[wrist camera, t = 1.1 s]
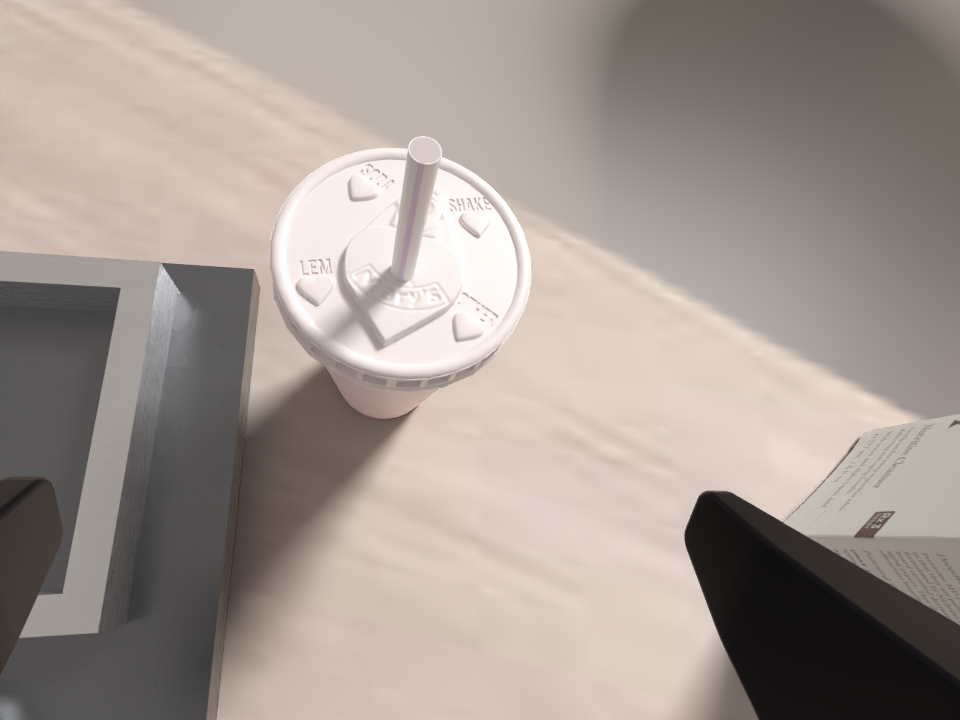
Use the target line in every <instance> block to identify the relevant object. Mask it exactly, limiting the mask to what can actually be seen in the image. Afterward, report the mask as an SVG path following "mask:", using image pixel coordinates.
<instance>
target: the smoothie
mask: <svg viewBox="0 0 960 720" xmlns="http://www.w3.org/2000/svg"><path fill="white" fill-rule="evenodd" d="M441 155H442V150H441V147H440V145H439V144H438V143H437V142H436V141H435V140H434V139H432V138H429V137H425V136H422V137H421V136H420V137H416V138H414V139H413V140H412V141H411V142H410V143H409V146H408V149H402V148H378V149H369V150H363V151H359V152H354V153H351V154H348V155H345V156H342V157H339V158H337V159H335V160H332V161H330V162H328V163H326V164H325V165H323V166H321V167H319V168H318V169H316V170H315V171H313V172H312V173H311V174H309V175H308V176H307V177H306V178H305V179H303V180H302V181H301V182H300V183H299V184H298V185H297V186H296V188H295V189H294V190H293V191H292V192H291V194H290V195H289V196H288V198H287V199H286V200H285V202H284V204H283V206H282V207H281V209H280V211H279V213H278V216H277V218H276V220H275V224H274V227H273V230H272V235H271V240H270V252H269V257H270V269H271V275H272V282H273V291H274V298H275V301H276V303H277V305H278V308H279V310H280V312H281V315H282V317H283V319H284V321H285V324H286V326H287V328H288V330H289V331H290V332H291V333H292V334H293V336H294V337H295V338H296V339H297V340H298V342H299V343H300V344H301V345H302V346H303V348H304V349H305V350H306V351H307V353H308V354H309V355H310V356H312V357H313V358H314V359H316V360H317V361H319V362H320V363H322V364H323V365H324V366H325V367H326V368H327V370H328V372H329V373H330V375H331V377H332V379H333V380H334V382H335V384H336V385H337V387H338V389H339V390H340V392H341V394H342V395H343V397H344V399H345V400H346V401H347V402H348V404H349V405H350V406H351V407H353V408H354V409H355V410H356V411H358V412H360V413H362V414H364V415H366V416H369V417H372V418H377V419H390V418H396V417H399V416H402V415H404V414H406V413H408V412H410V411H411V410H413V409H414V408H415V407H416V406H418V405H419V404H420V403H421V402H423V401H424V400H425V399H426V398H427V397H429V396H430V395H431V394H432V393H434V392H435V391H436V390H437V389H438V388H443V387H445V386H448V385H450V384H452V383H455V382H457V381H459V380H462V379H464V378H466V377H469V376H471V375H473V374H474V373H476V372H477V371H478V370H479V369H481V368H482V367H483V366H484V365H486V364H487V363H488V362H489V361H491V360H492V359H493V358H494V357H496V356H497V355H498V354H499V352H500V351H501V349H502V348H503V346H504V345H505V343H506V342H507V341H508V339H509V338H510V336H511V335H512V333H513V332H514V330H515V327H516V325H517V323H518V321H519V320H520V318H521V315H522V313H523V311H524V309H525V306H526V303H527V300H528V295H529V291H530V283H531V262H530V255H529V250H528V245H527V242H526V239H525V236H524V234H523V231H522V229H521V226H520V224H519V223H518V221H517V219H516V217H515V215H514V214H513V212H512V211H511V209H510V208H509V206H508V205H507V204H506V202H505V201H504V200H503V199H502V198H501V196H500V195H499V194H498V193H497V192H496V191H495V190H494V189H493V188H492V187H491V186H489V185H488V184H487V183H486V182H485V181H484V180H482V179H481V178H480V177H478V176H477V175H476V174H474V173H472V172H471V171H469V170H468V169H466V168H464V167H462V166H461V165H459V164H457V163H455V162H452V161H450V160H448V159H446V158H443V157H441Z"/></svg>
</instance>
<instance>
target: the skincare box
mask: <svg viewBox="0 0 960 720" xmlns="http://www.w3.org/2000/svg"><path fill="white" fill-rule="evenodd" d="M783 523H785V524H786V525H788V526H790V527H792V528H793V529H795V530H797V531H799V532H800V533H802V534H804V535H805V536H807V537H809V538H811V539H812V540H814V541H816V542H818V543H819V544H821V545H823V546H824V547H826V548H828V549H830V550H831V551H833V552H835V553H837V554H838V555H840V556H842V557H843V558H845V559H847V560H849V561H850V562H852V563H854V564H855V565H857V566H859V567H861V568H862V569H864V570H866V571H868V572H869V573H871V574H873V575H874V576H876V577H878V578H880V579H881V580H883V581H885V582H887V583H888V584H890V585H892V586H893V587H895V588H897V589H899V590H900V591H902V592H904V593H906V594H907V595H909V596H911V597H912V598H914V599H916V600H918V601H919V602H921V603H923V604H925V605H926V606H928V607H930V608H931V609H933V610H935V611H937V612H938V613H940V614H942V615H944V616H945V617H947V618H949V619H950V620H952V621H954V622H956V623H957V624H959V625H960V414H957V415H952V416H946V417H941V418H935V419H930V420H924V421H919V422H914V423H908V424H902V425H898V426H892V427H886V428H881V429H875V430H872V431H869V432H866V433H864V434H863V435H862V437H861V438H860V440H859V441H858V443H857V444H856V445H855V447H854V448H853V450H852V451H851V452H850V453H849V454H848V456H847V457H846V458H845V459H844V460H843V461H842V462H841V464H840V465H839V466H838V467H837V468H836V469H835V470H834V472H833V473H832V474H831V475H830V476H829V477H828V478H827V479H826V480H825V481H824V482H823V484H822V485H821V486H820V487H819V488H818V489H817V490H816V491H815V492H814V493H813V494H812V495H811V496H810V497H809V498H808V499H807V500H806V501H805V502H804V503H803V504H802V505H801V506H800V507H799V508H798V509H797V510H796V511H795V512H794V513H793V514H792V515H791V516H790V517H789V518H788V519H786V520H785V521H784V522H783Z"/></svg>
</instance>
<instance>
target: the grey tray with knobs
mask: <svg viewBox="0 0 960 720" xmlns="http://www.w3.org/2000/svg"><path fill="white" fill-rule="evenodd" d="M259 292H260V285H259V282H258V279H257V276H256V273H255V270H254V269H243V268H228V267H213V266H199V265H184V264H169V263H161V262H152V261H137V260H122V259H107V258H92V257H78V256H63V255H48V254H33V253H19V252H4V251H0V480H2V479H4V478H7V477H14V476H21V477H44V478H47V479H49V480H50V481H51V483H52V484H53V487H54V491H55V495H56V500H57V504H58V509H59V513H60V518H61V523H62V528H63V535H62V541H61V545H60V547H59V550H58V552H57V554H56V557H55V559H54V561H53V563H52V566H51V568H50V570H49V572H48V575H47V577H46V579H45V581H44V583H43V586H42V588H41V590H40V592H39V595H38V597H37V599H36V601H35V603H34V606H33V608H32V610H31V612H30V615H29V617H28V619H27V621H26V624H25V626H24V628H23V630H22V632H21V635H20V637H19V639H18V641H17V644H16V646H15V648H14V650H13V652H12V654H11V656H10V658H9V660H8V662H7V665H6V667H5V669H4V671H3V672H2V674H1V676H0V720H216V718H217V708H218V698H219V688H220V678H221V668H222V658H223V648H224V639H225V629H226V619H227V609H228V599H229V589H230V579H231V569H232V559H233V550H234V540H235V530H236V520H237V510H238V500H239V490H240V480H241V470H242V460H243V451H244V441H245V431H246V421H247V411H248V401H249V391H250V381H251V371H252V362H253V352H254V342H255V332H256V322H257V312H258V302H259Z"/></svg>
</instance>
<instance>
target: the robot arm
mask: <svg viewBox="0 0 960 720" xmlns="http://www.w3.org/2000/svg"><path fill="white" fill-rule="evenodd" d="M62 535H63V528H62V523H61V518H60V513H59V509H58V504H57V500H56V495H55V491H54V487H53V484H52V483H51V481H50V480H49V479H47V478H44V477H21V476H14V477H7V478H4V479H2V480H0V676H1V674H2V672H3V671H4V669H5V667H6V665H7V662H8V660H9V658H10V656H11V654H12V652H13V650H14V648H15V646H16V644H17V641H18V639H19V637H20V635H21V632H22V630H23V628H24V626H25V624H26V621H27V619H28V617H29V615H30V612H31V610H32V608H33V606H34V603H35V601H36V599H37V597H38V595H39V592H40V590H41V588H42V586H43V583H44V581H45V579H46V577H47V575H48V572H49V570H50V568H51V566H52V563H53V561H54V559H55V557H56V554H57V552H58V550H59V547H60V545H61V541H62ZM685 545H686V548H687V551H688V554H689V557H690V559H691V562H692V565H693V567H694V570H695V573H696V575H697V578H698V581H699V584H700V586H701V589H702V592H703V594H704V597H705V600H706V602H707V605H708V608H709V611H710V613H711V616H712V619H713V621H714V624H715V626H716V629H717V631H718V634H719V636H720V639H721V641H722V643H723V646H724V648H725V650H726V652H727V654H728V657H729V659H730V661H731V663H732V665H733V667H734V669H735V671H736V673H737V675H738V677H739V680H740V682H741V684H742V686H743V688H744V690H745V692H746V694H747V696H748V698H749V700H750V703H751V705H752V707H753V709H754V711H755V713H756V715H757V717H758V719H759V720H960V625H959V624H957V623H956V622H954V621H952V620H950V619H949V618H947V617H945V616H944V615H942V614H940V613H938V612H937V611H935V610H933V609H931V608H930V607H928V606H926V605H925V604H923V603H921V602H919V601H918V600H916V599H914V598H912V597H911V596H909V595H907V594H906V593H904V592H902V591H900V590H899V589H897V588H895V587H893V586H892V585H890V584H888V583H887V582H885V581H883V580H881V579H880V578H878V577H876V576H874V575H873V574H871V573H869V572H868V571H866V570H864V569H862V568H861V567H859V566H857V565H855V564H854V563H852V562H850V561H849V560H847V559H845V558H843V557H842V556H840V555H838V554H837V553H835V552H833V551H831V550H830V549H828V548H826V547H824V546H823V545H821V544H819V543H818V542H816V541H814V540H812V539H811V538H809V537H807V536H805V535H804V534H802V533H800V532H799V531H797V530H795V529H793V528H792V527H790V526H788V525H786V524H785V523H783V522H781V521H780V520H778V519H776V518H774V517H773V516H771V515H769V514H767V513H766V512H764V511H762V510H761V509H759V508H757V507H755V506H754V505H752V504H750V503H748V502H747V501H745V500H743V499H742V498H740V497H738V496H736V495H735V494H733V493H731V492H728V491H705V492H703V493H702V494H701V495H700V496H699V497H698V499H697V502H696V504H695V507H694V509H693V512H692V514H691V517H690V519H689V522H688V524H687V526H686V529H685Z"/></svg>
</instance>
